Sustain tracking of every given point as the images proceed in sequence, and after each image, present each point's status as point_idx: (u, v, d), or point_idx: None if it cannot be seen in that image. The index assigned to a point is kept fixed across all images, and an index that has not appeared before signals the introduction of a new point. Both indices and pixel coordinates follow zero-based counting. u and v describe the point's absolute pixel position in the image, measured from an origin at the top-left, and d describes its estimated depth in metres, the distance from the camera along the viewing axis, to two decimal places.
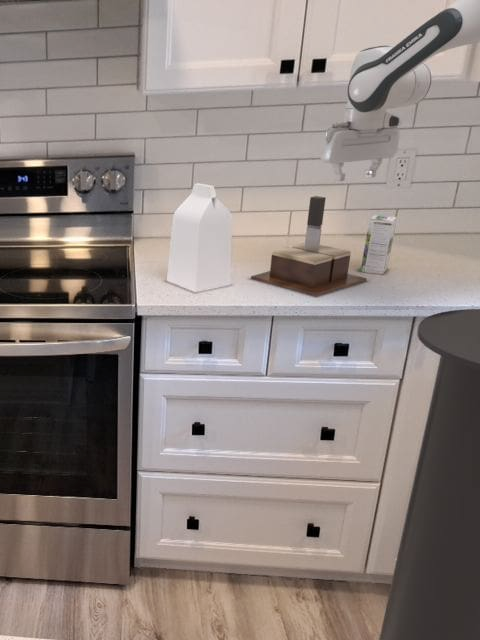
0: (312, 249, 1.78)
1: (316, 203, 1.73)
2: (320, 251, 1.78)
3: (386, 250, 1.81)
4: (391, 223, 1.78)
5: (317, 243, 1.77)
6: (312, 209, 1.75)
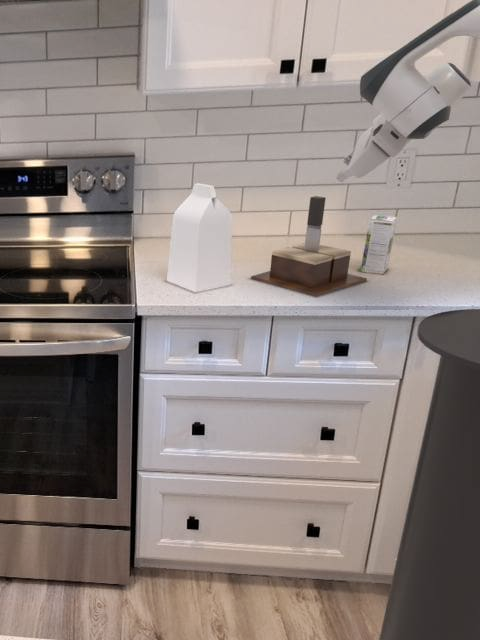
0: (312, 249, 1.78)
1: (316, 203, 1.73)
2: (320, 251, 1.78)
3: (386, 250, 1.81)
4: (391, 223, 1.78)
5: (317, 243, 1.77)
6: (312, 209, 1.75)
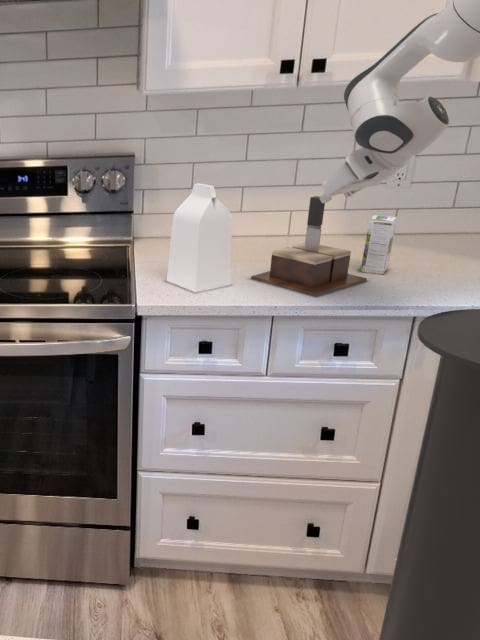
0: (312, 249, 1.78)
1: (316, 203, 1.73)
2: (320, 251, 1.78)
3: (386, 250, 1.81)
4: (391, 223, 1.78)
5: (317, 243, 1.77)
6: (312, 209, 1.75)
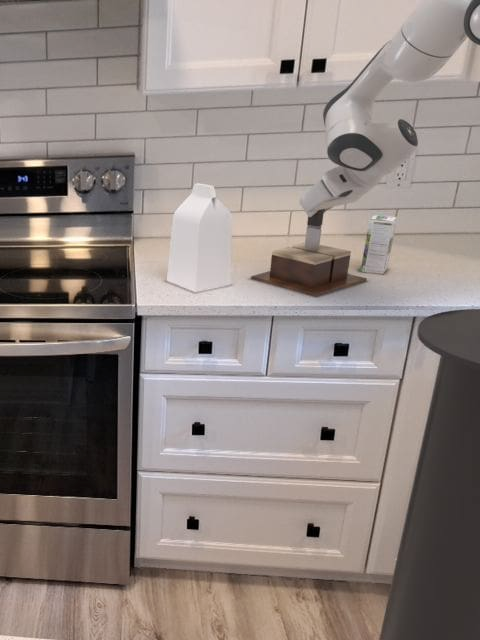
0: (312, 249, 1.78)
1: None
2: (320, 251, 1.78)
3: (386, 250, 1.81)
4: (391, 223, 1.78)
5: (317, 243, 1.77)
6: None
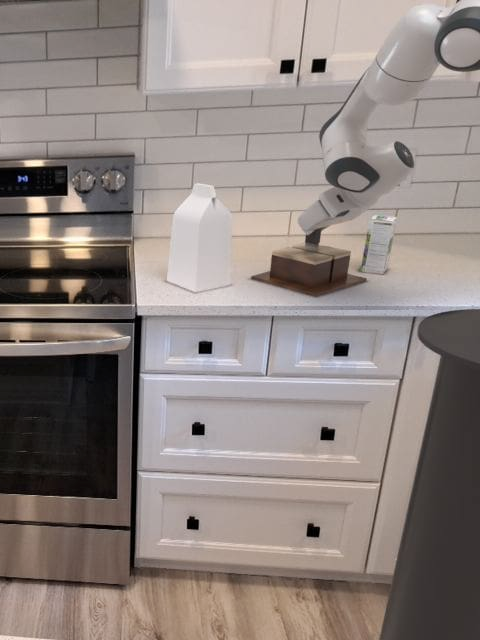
0: None
1: None
2: (320, 251, 1.78)
3: (386, 250, 1.81)
4: (391, 223, 1.78)
5: None
6: None
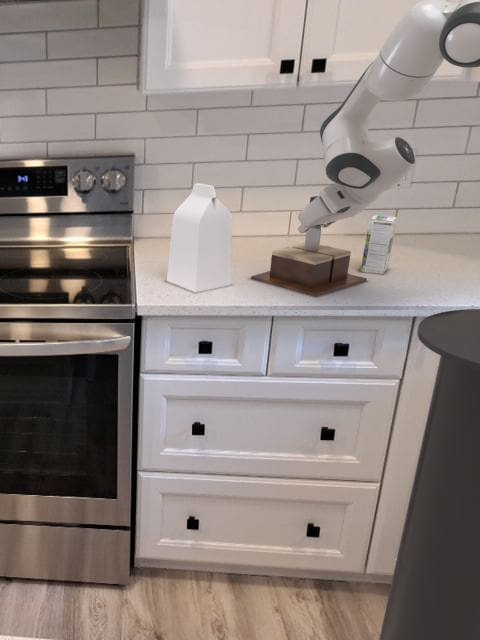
0: (312, 249, 1.78)
1: None
2: (320, 251, 1.78)
3: (386, 250, 1.81)
4: (391, 223, 1.78)
5: (317, 243, 1.77)
6: None
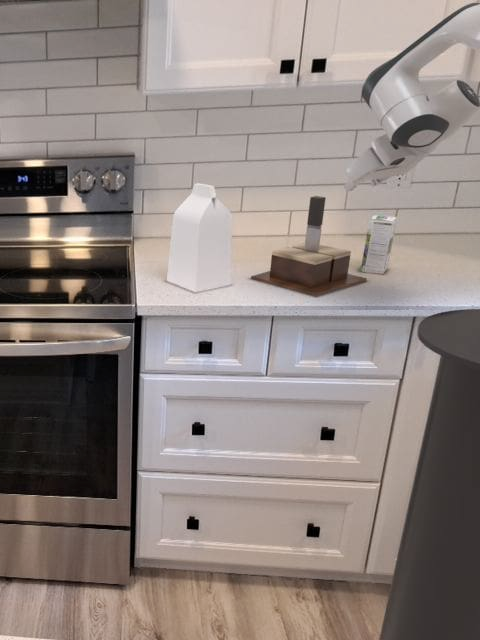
0: (312, 249, 1.78)
1: (316, 203, 1.73)
2: (320, 251, 1.78)
3: (386, 250, 1.81)
4: (391, 223, 1.78)
5: (317, 243, 1.77)
6: (312, 209, 1.75)
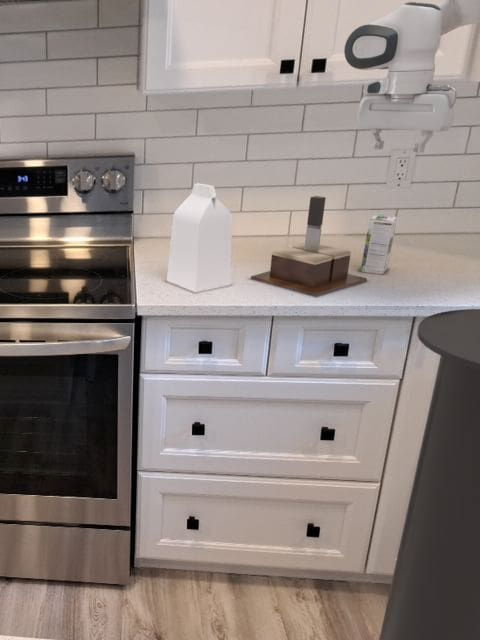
0: (312, 249, 1.78)
1: (316, 203, 1.73)
2: (320, 251, 1.78)
3: (386, 250, 1.81)
4: (391, 223, 1.78)
5: (317, 243, 1.77)
6: (312, 209, 1.75)
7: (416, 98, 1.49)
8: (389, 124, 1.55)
